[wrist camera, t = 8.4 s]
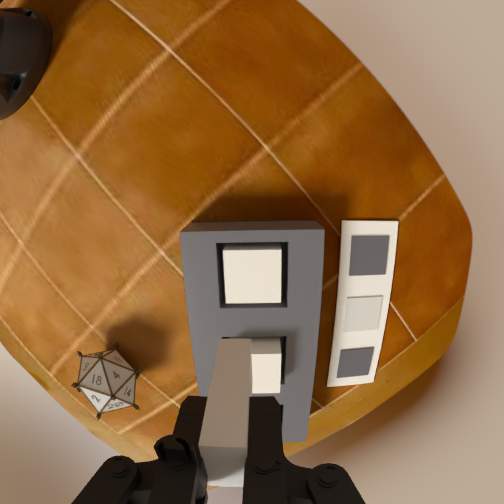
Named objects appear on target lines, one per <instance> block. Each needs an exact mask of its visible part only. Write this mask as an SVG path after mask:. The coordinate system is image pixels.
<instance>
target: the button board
mask: <svg viewBox="0 0 504 504" xmlns="http://www.w3.org/2000/svg"><path fill="white" fill-rule="evenodd" d="M324 234H325V229H324V228H323V227H322V226H321V225H320V224H319V223H318V222H317V221H316V220H302V221H235V222H198V223H189V224H188V225H187V226H186V227H185V228H184V229H182V230H181V231H180V242H181V254H182V265H183V275H184V285H185V294H186V303H187V311H188V320H189V328H190V335H191V343H192V350H193V357H194V364H195V370H196V377H197V383H198V389H199V395H200V396H206V397H208V393H209V388H210V383H211V378H212V373H213V368H214V363H215V358H216V353H217V348H218V343H219V339H229V338H230V337H274V336H280V346H281V380H280V393H252V397H253V396H274V397H275V398H276V400H277V401H278V403H279V404H280V414H281V427H282V441H283V442H299V441H306V437H307V430H308V423H309V416H310V408H311V400H312V392H313V384H314V375H315V366H316V356H317V346H318V334H319V323H320V309H321V295H322V279H323V259H324ZM241 242H280V246H281V303H226V297H225V280H224V261H223V249H224V247H225V244H226V243H241Z"/></svg>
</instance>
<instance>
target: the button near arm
mask: <svg viewBox="0 0 504 504" xmlns="http://www.w3.org/2000/svg"><path fill="white" fill-rule="evenodd" d="M223 261H224V280H225V297H226V303H281V246H280V242H241V243H226V244H225V247H224V249H223Z"/></svg>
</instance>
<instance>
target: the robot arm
mask: <svg viewBox="0 0 504 504" xmlns="http://www.w3.org/2000/svg"><path fill="white" fill-rule="evenodd" d="M2 1H3V0H0V3H1V2H2ZM51 41H52V33H51V27H50V24H49V21H48V20H47V18H46V17H45V16H44V15H42V14H40V13H39V12H37V11H35V10H33V9H30V8H0V120H3V119H5V118H7V117H9V116H10V115H12V114H13V113H15V112H16V111H17V110H18V109H19V108H20V107H21V106H22V105H23V104H24V103H25V101H26V100H27V99H28V98H29V96H30V95H31V93H32V92H33V90H34V89H35V87H36V85H37V84H38V82H39V80H40V78H41V76H42V73H43V71H44V69H45V66H46V63H47V60H48V57H49V53H50V48H51ZM252 383H253V381H252V355H251V339H219V343H218V348H217V353H216V358H215V363H214V368H213V373H212V378H211V383H210V388H209V393H208V397H206V396H188V397H187V398H186V399H185V400H184V401H183V402H182V403H181V406H180V410H179V415H178V417H177V422H176V424H175V427H174V431H173V435H168V436H165V437H162V438H161V439H159V440H158V441H157V442H156V444H155V445H154V449H155V451H156V454H157V456H158V458H159V459H156V460H153V461H148V462H139V463H135V462H134V461H133V460H132V459H130V458H129V457H126V456H114V457H111V458H109V459H107V460H106V461H105V462H104V463H103V465H102V466H101V467H100V468H99V470H98V471H97V472H96V473H95V475H94V476H93V477H92V478H91V480H90V481H89V482H88V483H87V485H86V486H85V487H84V489H83V490H82V491H81V492H80V494H79V495H78V496H77V497H76V499H75V500H74V501H73V502H72V504H207V500H208V496H207V491H206V488H207V481H208V483H209V485H211V486H231V487H243V502H242V504H365V502H364V500H363V499H362V497H361V495H360V493H359V492H358V490H357V489H356V487H355V485H354V483H353V482H352V480H351V478H350V476H349V475H348V473H347V472H346V471H345V469H344V468H343V467H341V466H339V465H336V464H331V463H327V464H321V465H319V466H316V467H314V468H313V469H310V468H305V467H300V466H297V465H294V464H292V463H291V462H289V461H288V460H287V459H286V457H285V455H284V452H283V441H282V427H281V414H280V404H279V403H278V401H277V400H276V398H275V397H274V396H253V397H252Z"/></svg>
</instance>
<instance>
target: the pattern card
mask: <svg viewBox="0 0 504 504" xmlns="http://www.w3.org/2000/svg"><path fill="white" fill-rule="evenodd" d="M397 232H398V221H362V220H342V221H341V244H340V261H339V276H338V289H337V301H336V312H335V322H334V331H333V340H332V349H331V357H330V364H329V372H328V379H327V387H333V386H344V385H354V384H363V383H371V382H373V381H374V377H375V372H376V368H377V364H378V359H379V354H380V350H381V345H382V340H383V335H384V329H385V324H386V318H387V312H388V306H389V300H390V293H391V286H392V279H393V271H394V263H395V254H396V243H397Z"/></svg>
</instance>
